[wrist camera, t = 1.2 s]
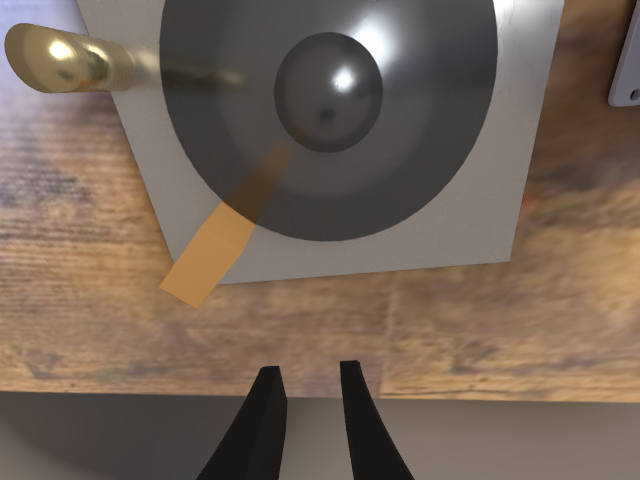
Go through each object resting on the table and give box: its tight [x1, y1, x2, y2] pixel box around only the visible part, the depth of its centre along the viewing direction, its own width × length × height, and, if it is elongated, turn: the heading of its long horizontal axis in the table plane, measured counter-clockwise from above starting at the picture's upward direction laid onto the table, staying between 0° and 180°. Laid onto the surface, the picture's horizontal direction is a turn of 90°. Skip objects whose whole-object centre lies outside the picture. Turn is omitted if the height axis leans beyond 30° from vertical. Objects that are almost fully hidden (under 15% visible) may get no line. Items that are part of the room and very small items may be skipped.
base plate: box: [4, 0, 565, 285], centre depth 13 cm, size 20×20×6 cm
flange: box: [159, 0, 498, 309], centre depth 13 cm, size 18×14×4 cm
